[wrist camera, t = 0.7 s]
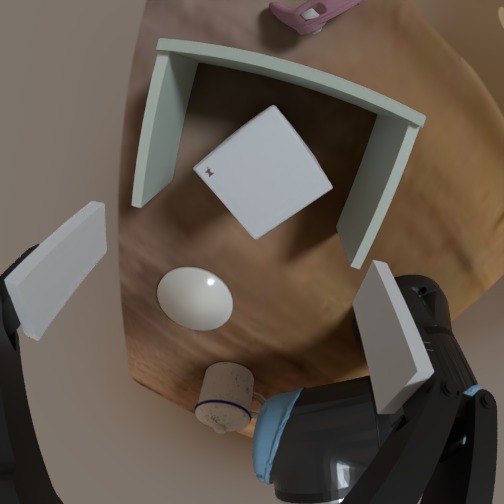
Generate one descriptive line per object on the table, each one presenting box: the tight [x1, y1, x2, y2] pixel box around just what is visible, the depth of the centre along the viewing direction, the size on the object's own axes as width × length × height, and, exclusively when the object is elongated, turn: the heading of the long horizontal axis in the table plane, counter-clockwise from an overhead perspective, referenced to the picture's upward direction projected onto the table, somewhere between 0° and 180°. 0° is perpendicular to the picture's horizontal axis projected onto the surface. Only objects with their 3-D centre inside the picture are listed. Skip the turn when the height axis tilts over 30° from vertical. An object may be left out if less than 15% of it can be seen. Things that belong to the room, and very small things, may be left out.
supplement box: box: [193, 105, 333, 239], centre depth 26 cm, size 7×7×13 cm
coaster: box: [157, 266, 233, 330], centre depth 42 cm, size 11×11×1 cm
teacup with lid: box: [195, 362, 266, 434], centre depth 45 cm, size 12×9×12 cm
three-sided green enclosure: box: [131, 38, 426, 269], centre depth 27 cm, size 15×22×10 cm
